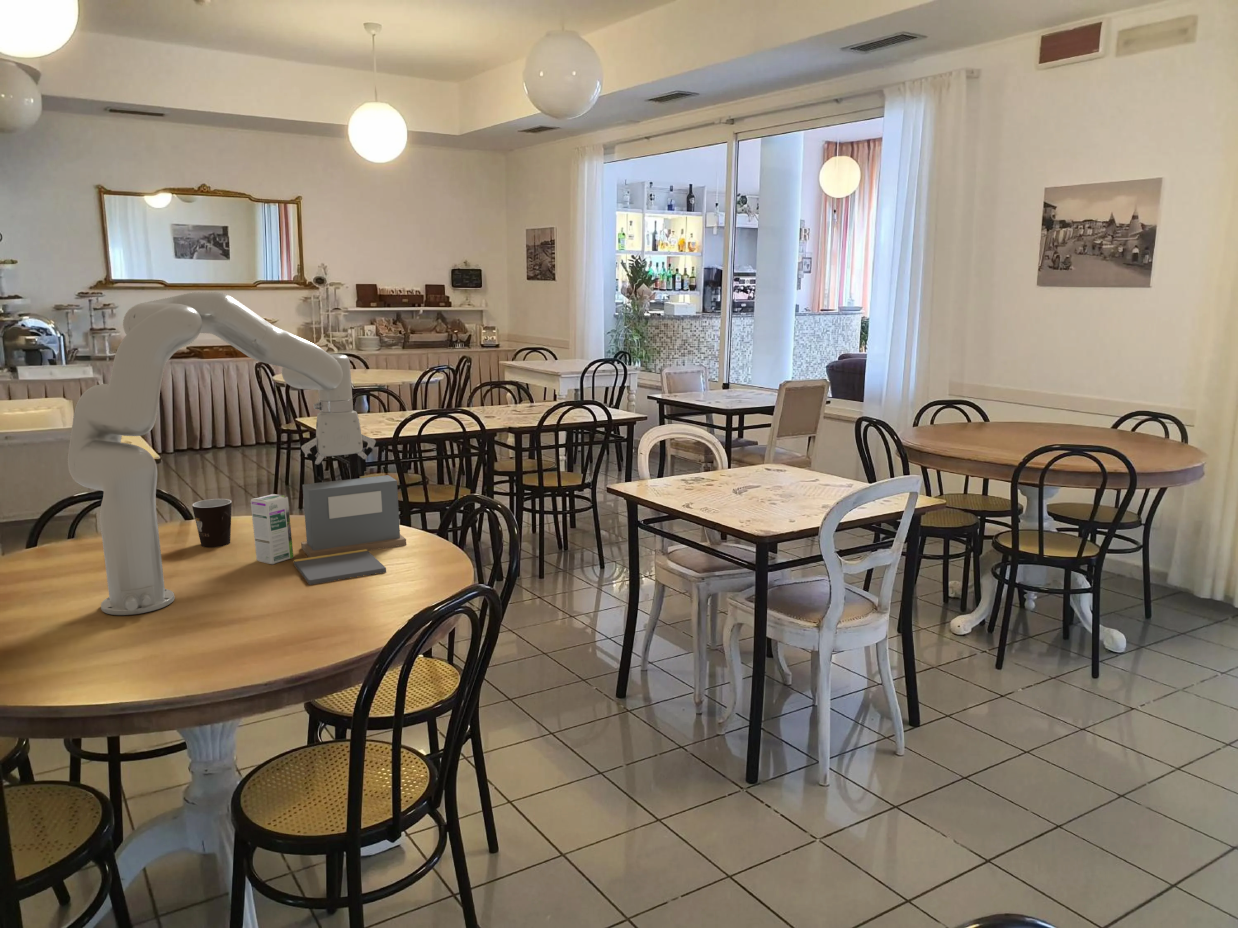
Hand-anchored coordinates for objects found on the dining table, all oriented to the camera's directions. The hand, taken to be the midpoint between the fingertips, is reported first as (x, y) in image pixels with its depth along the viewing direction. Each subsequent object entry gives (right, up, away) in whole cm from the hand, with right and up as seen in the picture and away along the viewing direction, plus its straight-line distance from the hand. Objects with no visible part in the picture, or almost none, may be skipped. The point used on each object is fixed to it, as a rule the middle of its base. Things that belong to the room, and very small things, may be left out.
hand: (341, 477), depth 218 cm
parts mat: (+6, -20, -21) cm, 29 cm away
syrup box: (-11, -19, -15) cm, 26 cm away
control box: (+4, -16, -5) cm, 18 cm away
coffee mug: (-29, -16, -3) cm, 33 cm away
